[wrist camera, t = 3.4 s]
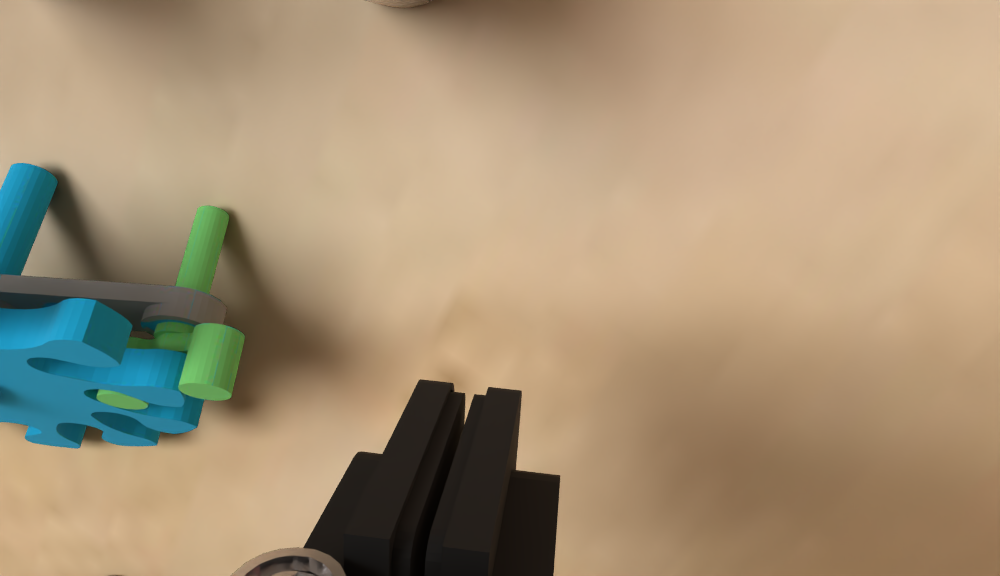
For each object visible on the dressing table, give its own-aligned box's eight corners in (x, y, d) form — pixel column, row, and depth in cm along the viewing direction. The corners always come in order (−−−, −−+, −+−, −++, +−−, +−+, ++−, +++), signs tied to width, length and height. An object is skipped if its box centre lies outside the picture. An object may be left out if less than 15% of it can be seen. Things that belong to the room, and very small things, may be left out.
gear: (-136, 457, 19) (-641, 281, 11) (-48, 262, 22) (-390, -9, 13) (283, 484, 20) (135, 333, 11) (320, 287, 22) (225, 36, 13)
